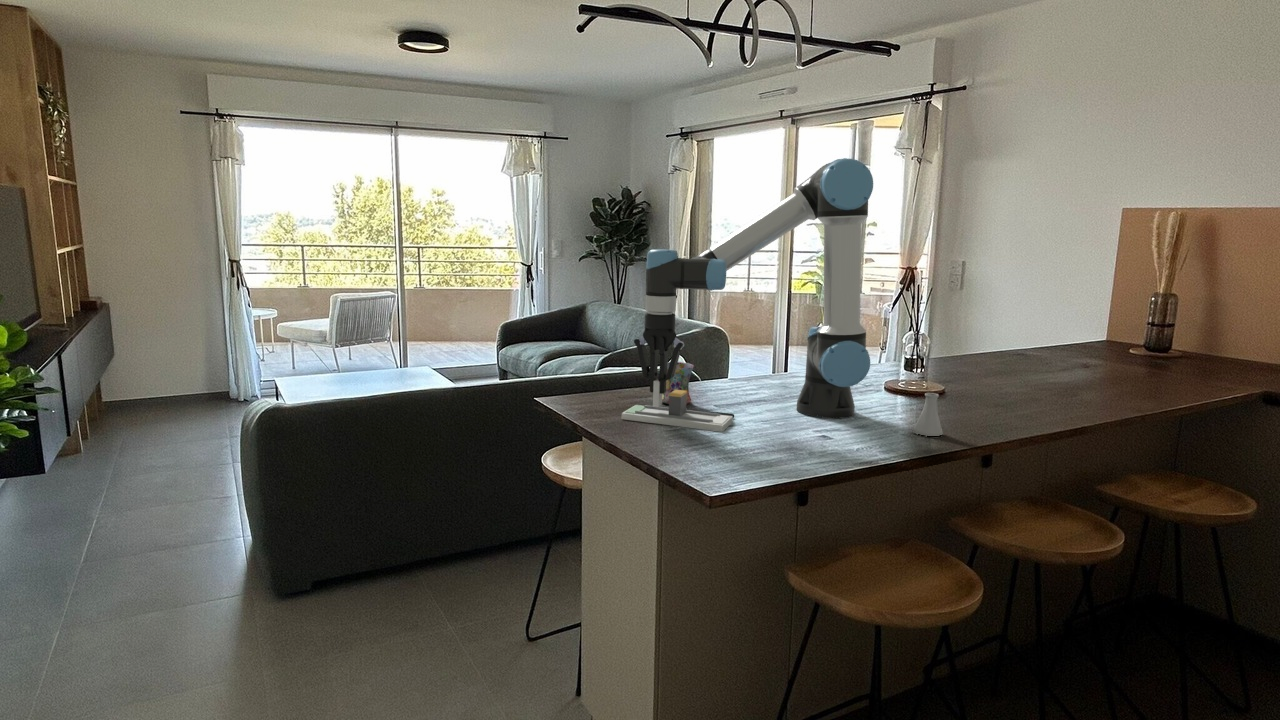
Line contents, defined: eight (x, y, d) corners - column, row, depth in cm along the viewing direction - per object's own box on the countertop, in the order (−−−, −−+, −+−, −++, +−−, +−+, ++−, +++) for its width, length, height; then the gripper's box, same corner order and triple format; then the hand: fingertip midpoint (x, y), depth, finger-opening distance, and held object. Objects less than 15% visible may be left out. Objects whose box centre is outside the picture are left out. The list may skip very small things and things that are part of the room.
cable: (734, 418, 197) (734, 413, 197) (733, 419, 196) (734, 414, 195) (647, 409, 203) (647, 404, 203) (646, 410, 202) (646, 405, 202)
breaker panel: (732, 422, 193) (732, 413, 192) (722, 431, 184) (722, 423, 183) (635, 410, 202) (635, 402, 201) (621, 419, 192) (621, 410, 192)
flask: (940, 440, 182) (944, 399, 181) (909, 434, 186) (912, 394, 184) (946, 433, 188) (950, 393, 187) (915, 428, 192) (919, 389, 190)
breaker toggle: (686, 412, 194) (686, 390, 193) (680, 416, 189) (680, 394, 188) (674, 411, 195) (675, 389, 194) (668, 415, 190) (669, 393, 189)
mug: (697, 406, 208) (699, 367, 206) (664, 407, 206) (666, 368, 204) (682, 396, 219) (684, 359, 218) (651, 397, 217) (652, 360, 215)
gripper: (690, 312, 191) (686, 405, 195) (640, 309, 195) (638, 399, 200) (680, 315, 184) (677, 411, 188) (630, 312, 188) (627, 405, 193)
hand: (657, 405), depth 194 cm, fingers closed
